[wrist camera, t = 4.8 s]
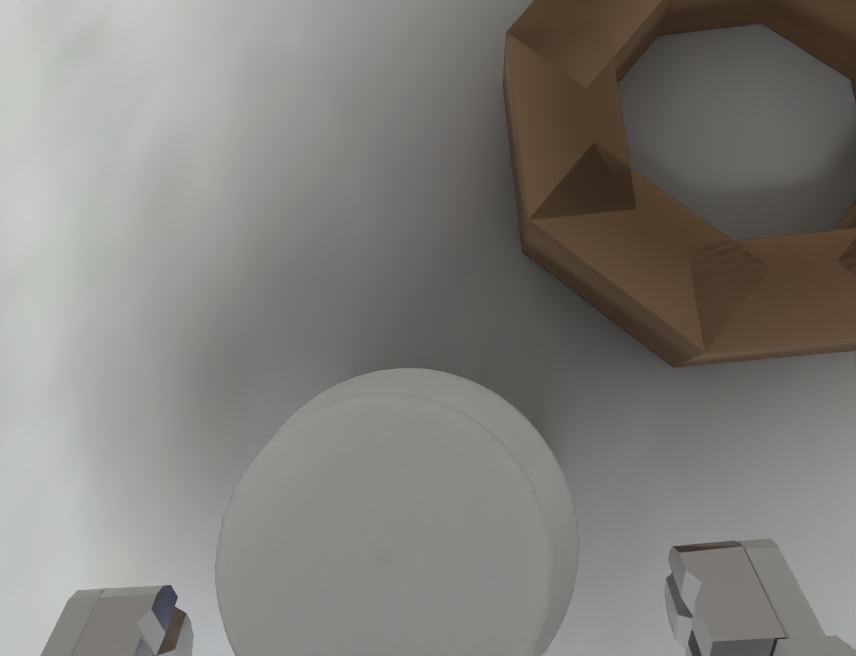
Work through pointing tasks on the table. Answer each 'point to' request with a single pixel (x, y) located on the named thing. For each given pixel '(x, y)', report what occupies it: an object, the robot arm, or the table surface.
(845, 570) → the table surface
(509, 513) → the pill bottle
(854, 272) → the walnut ring
